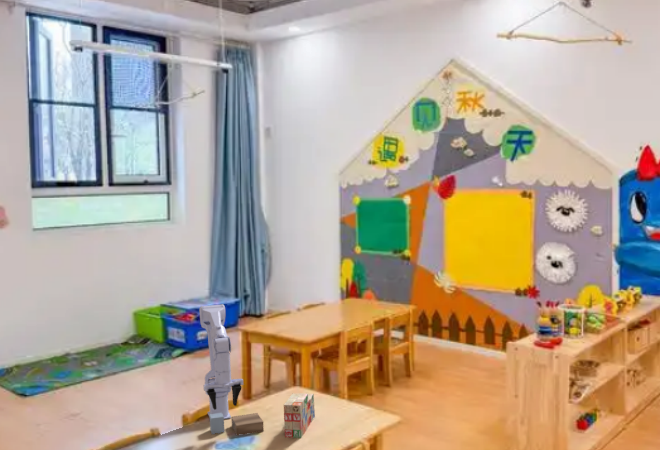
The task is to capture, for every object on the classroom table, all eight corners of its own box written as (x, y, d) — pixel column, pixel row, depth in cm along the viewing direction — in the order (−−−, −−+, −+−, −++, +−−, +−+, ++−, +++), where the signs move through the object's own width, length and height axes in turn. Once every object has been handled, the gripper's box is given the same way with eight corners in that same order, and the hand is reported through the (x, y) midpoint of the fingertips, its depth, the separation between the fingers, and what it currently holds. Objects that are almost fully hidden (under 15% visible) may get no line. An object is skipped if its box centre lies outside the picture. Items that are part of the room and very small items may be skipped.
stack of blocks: (299, 416, 264) (298, 385, 263) (315, 416, 263) (313, 386, 262) (284, 437, 243) (283, 404, 242) (301, 438, 242) (300, 404, 241)
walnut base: (231, 427, 256) (231, 416, 256) (257, 423, 259) (257, 412, 259) (236, 436, 246) (236, 425, 246) (263, 432, 250) (263, 421, 249)
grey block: (210, 430, 253) (209, 414, 252) (222, 428, 254) (221, 412, 254) (211, 434, 248) (211, 418, 248) (224, 432, 250) (223, 416, 249)
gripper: (206, 376, 241) (208, 413, 241) (245, 369, 247) (247, 406, 248) (201, 371, 247) (203, 408, 248) (239, 365, 253) (241, 401, 254)
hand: (224, 406), depth 248 cm, fingers open, 7 cm apart
